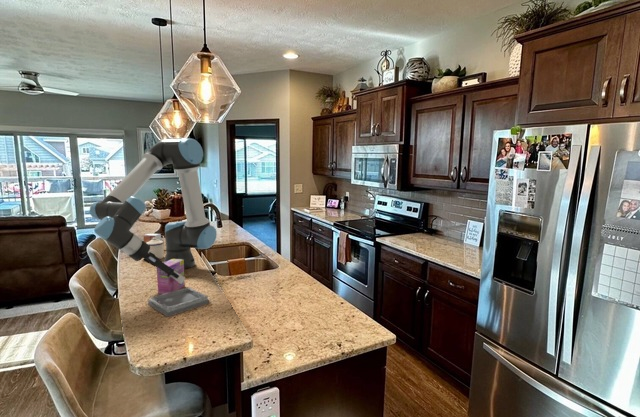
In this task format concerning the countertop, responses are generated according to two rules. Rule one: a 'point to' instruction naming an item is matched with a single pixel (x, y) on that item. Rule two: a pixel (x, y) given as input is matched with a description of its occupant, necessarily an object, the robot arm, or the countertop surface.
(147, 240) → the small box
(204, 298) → the steel rail frame
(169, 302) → the gray square tray
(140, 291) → the countertop surface
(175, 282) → the box
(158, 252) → the teacup with lid
